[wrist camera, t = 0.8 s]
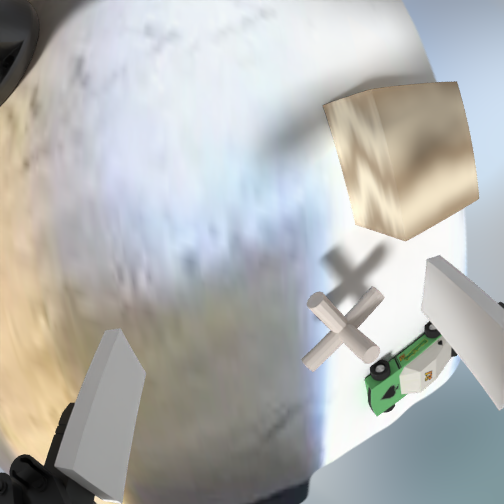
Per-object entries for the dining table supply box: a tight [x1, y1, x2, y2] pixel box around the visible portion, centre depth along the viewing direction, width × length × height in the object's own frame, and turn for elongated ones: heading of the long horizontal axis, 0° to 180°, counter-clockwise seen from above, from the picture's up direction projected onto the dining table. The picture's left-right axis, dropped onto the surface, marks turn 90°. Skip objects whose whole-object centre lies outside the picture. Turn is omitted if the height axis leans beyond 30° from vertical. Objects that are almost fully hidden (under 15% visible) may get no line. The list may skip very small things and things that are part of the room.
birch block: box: [323, 82, 479, 241], centre depth 26 cm, size 13×13×8 cm
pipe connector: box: [301, 286, 384, 372], centre depth 28 cm, size 10×10×10 cm
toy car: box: [365, 322, 458, 416], centre depth 38 cm, size 10×19×5 cm, turn 114°
